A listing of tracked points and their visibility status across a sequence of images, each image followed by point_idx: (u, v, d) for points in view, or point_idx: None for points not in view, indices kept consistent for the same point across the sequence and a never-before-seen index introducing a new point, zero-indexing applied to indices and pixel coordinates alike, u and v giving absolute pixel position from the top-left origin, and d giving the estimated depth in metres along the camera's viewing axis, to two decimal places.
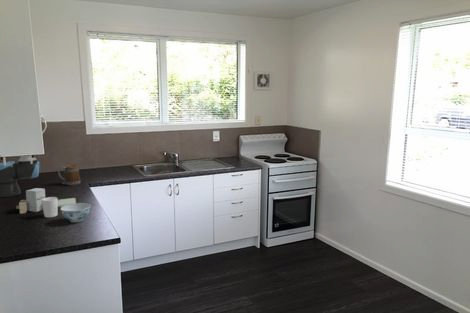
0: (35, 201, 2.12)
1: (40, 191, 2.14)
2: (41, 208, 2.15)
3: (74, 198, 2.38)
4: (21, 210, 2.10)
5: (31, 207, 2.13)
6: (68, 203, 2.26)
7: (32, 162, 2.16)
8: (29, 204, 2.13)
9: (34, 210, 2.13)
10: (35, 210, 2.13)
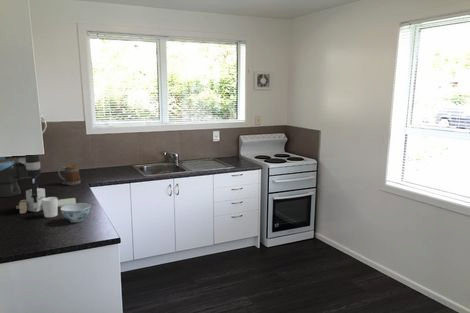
0: None
1: (40, 191, 2.14)
2: (41, 208, 2.15)
3: (74, 198, 2.38)
4: (21, 210, 2.10)
5: (31, 207, 2.13)
6: (68, 203, 2.26)
7: (38, 206, 2.12)
8: (29, 204, 2.13)
9: (34, 210, 2.13)
10: (35, 210, 2.12)
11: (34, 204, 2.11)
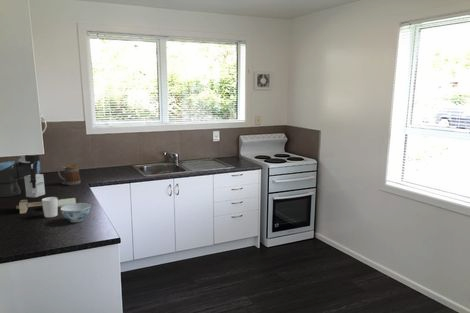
0: None
1: (38, 177, 2.13)
2: (40, 194, 2.14)
3: (74, 198, 2.38)
4: (21, 210, 2.10)
5: (30, 192, 2.12)
6: (68, 203, 2.26)
7: None
8: (28, 190, 2.12)
9: (33, 196, 2.12)
10: (34, 196, 2.11)
11: (33, 189, 2.10)
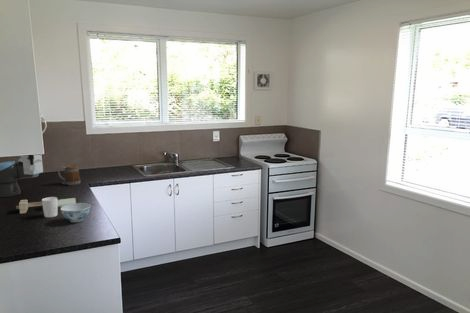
0: None
1: None
2: (38, 171, 2.12)
3: (74, 198, 2.38)
4: (21, 210, 2.10)
5: (28, 170, 2.10)
6: (68, 203, 2.26)
7: (34, 169, 2.09)
8: (25, 167, 2.10)
9: (31, 173, 2.10)
10: (32, 173, 2.09)
11: (30, 166, 2.07)
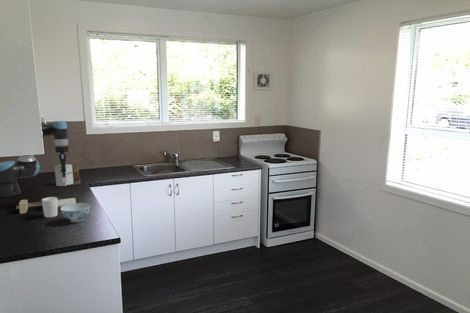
0: None
1: (68, 166, 2.26)
2: (69, 183, 2.27)
3: (74, 198, 2.38)
4: (21, 210, 2.10)
5: (60, 181, 2.25)
6: (68, 203, 2.26)
7: (66, 181, 2.24)
8: (58, 179, 2.25)
9: (63, 184, 2.25)
10: (64, 184, 2.24)
11: (63, 178, 2.23)
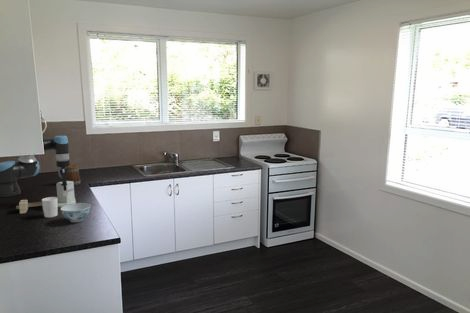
0: None
1: (69, 183, 2.28)
2: (70, 199, 2.29)
3: None
4: (21, 210, 2.10)
5: (61, 198, 2.27)
6: (68, 203, 2.26)
7: (67, 194, 2.24)
8: (59, 196, 2.27)
9: (64, 201, 2.27)
10: (65, 201, 2.26)
11: (64, 192, 2.23)
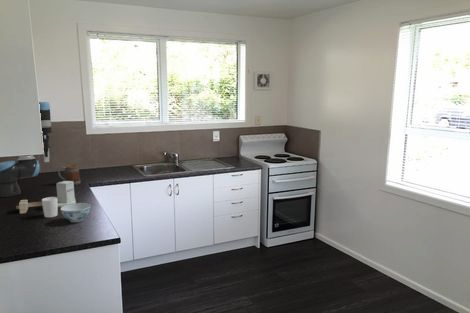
0: (65, 193, 2.26)
1: (69, 183, 2.28)
2: (70, 199, 2.29)
3: None
4: (21, 210, 2.10)
5: (61, 198, 2.27)
6: (68, 203, 2.26)
7: None
8: (59, 196, 2.27)
9: (64, 201, 2.27)
10: (65, 201, 2.26)
11: (45, 158, 2.22)
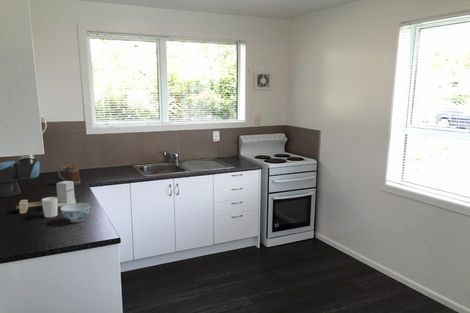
0: (65, 193, 2.26)
1: (69, 183, 2.28)
2: (70, 199, 2.29)
3: None
4: (21, 210, 2.10)
5: (61, 198, 2.27)
6: (68, 203, 2.26)
7: None
8: (59, 196, 2.27)
9: (64, 201, 2.27)
10: (65, 201, 2.26)
11: None
